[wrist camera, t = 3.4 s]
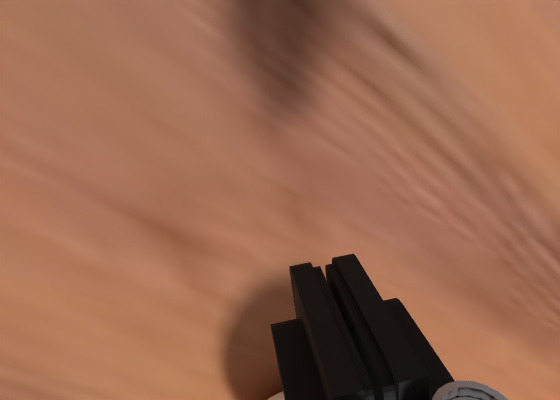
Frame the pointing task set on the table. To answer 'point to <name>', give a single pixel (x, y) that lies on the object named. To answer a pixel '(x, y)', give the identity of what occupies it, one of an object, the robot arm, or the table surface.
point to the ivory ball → (277, 396)
